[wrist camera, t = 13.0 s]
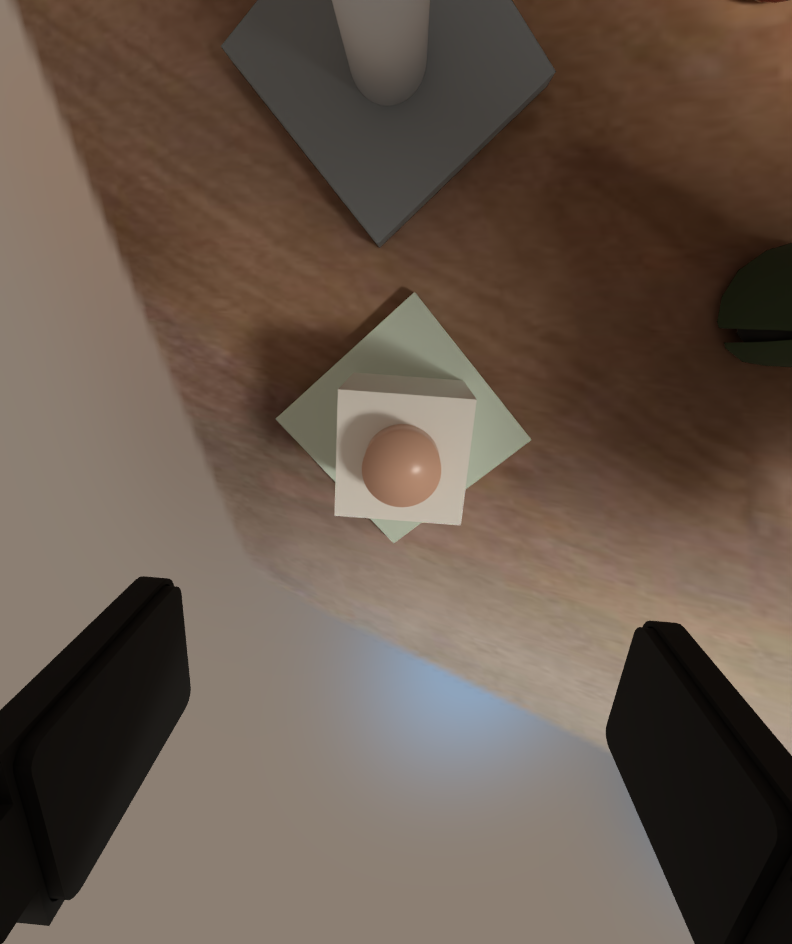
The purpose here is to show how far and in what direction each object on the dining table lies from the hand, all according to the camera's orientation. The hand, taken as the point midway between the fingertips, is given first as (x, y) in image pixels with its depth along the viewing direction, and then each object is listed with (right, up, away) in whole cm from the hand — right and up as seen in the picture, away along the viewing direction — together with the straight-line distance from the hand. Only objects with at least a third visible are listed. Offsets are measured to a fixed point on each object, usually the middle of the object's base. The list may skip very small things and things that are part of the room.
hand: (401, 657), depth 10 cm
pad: (0, +7, +19) cm, 20 cm away
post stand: (0, +23, +13) cm, 27 cm away
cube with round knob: (0, +6, +18) cm, 20 cm away
